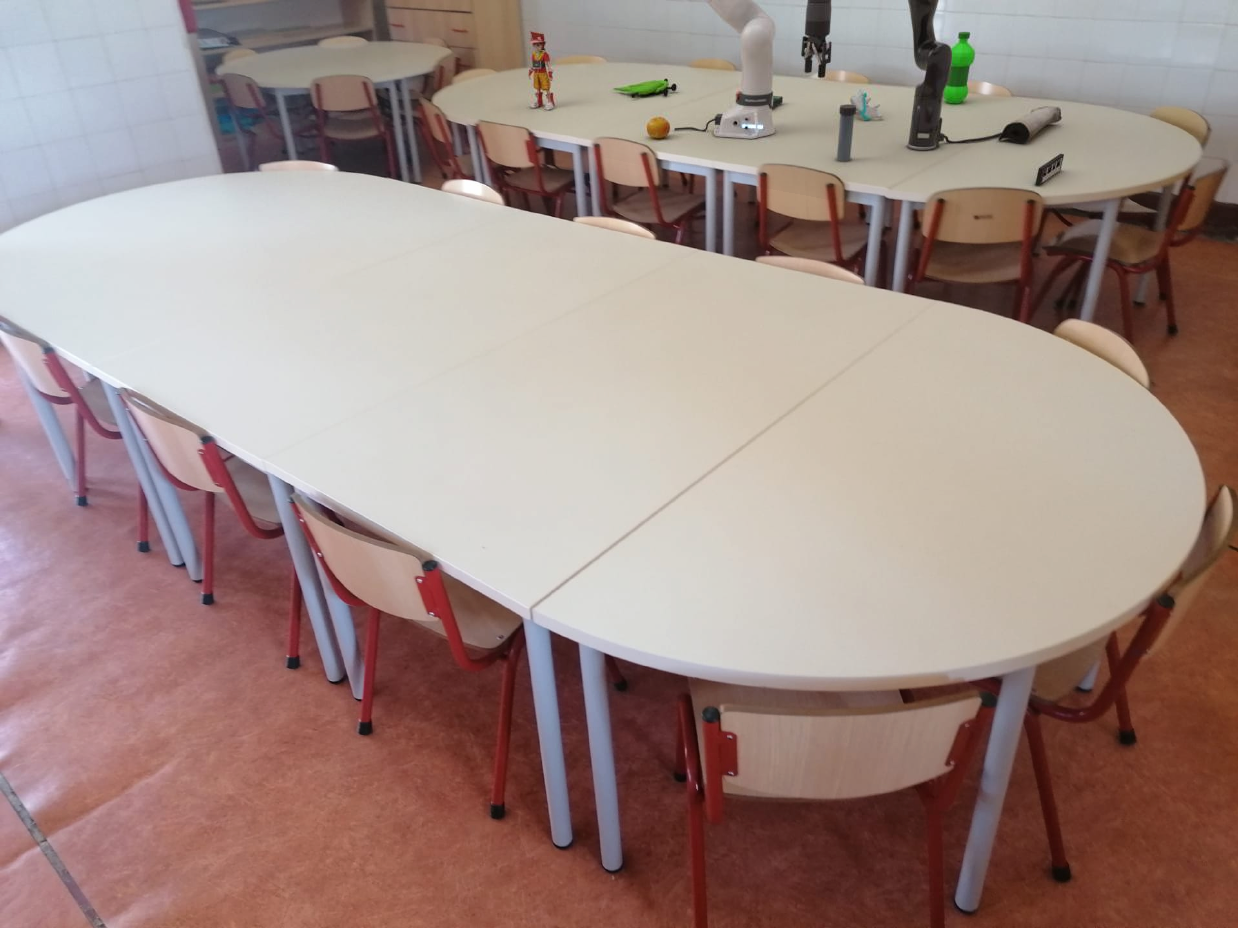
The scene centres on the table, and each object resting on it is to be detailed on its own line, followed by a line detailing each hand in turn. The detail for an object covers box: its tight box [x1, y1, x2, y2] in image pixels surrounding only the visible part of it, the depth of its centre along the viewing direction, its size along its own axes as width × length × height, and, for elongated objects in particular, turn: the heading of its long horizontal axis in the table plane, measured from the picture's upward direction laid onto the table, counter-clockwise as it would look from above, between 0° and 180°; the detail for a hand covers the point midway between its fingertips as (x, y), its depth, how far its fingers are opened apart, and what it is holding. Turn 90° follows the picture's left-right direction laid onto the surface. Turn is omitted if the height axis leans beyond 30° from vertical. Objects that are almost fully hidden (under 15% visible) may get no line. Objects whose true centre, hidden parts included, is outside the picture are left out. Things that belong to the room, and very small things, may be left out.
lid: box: [839, 104, 857, 116], centre depth 292 cm, size 5×5×2 cm
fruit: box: [646, 116, 671, 139], centre depth 333 cm, size 8×8×8 cm
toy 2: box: [612, 78, 677, 99], centre depth 396 cm, size 28×5×30 cm
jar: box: [836, 113, 855, 163], centre depth 296 cm, size 4×4×17 cm
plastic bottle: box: [943, 31, 976, 104], centre depth 348 cm, size 10×10×25 cm
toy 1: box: [527, 31, 556, 111], centre depth 374 cm, size 12×9×30 cm
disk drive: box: [772, 95, 784, 109], centre depth 364 cm, size 10×3×15 cm
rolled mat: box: [998, 105, 1063, 144], centre depth 313 cm, size 30×9×10 cm
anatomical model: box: [849, 89, 885, 121], centre depth 342 cm, size 15×10×10 cm
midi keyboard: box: [1035, 153, 1065, 186], centre depth 273 cm, size 18×1×5 cm, turn 138°
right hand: (814, 75), depth 280 cm, fingers open, 8 cm apart
